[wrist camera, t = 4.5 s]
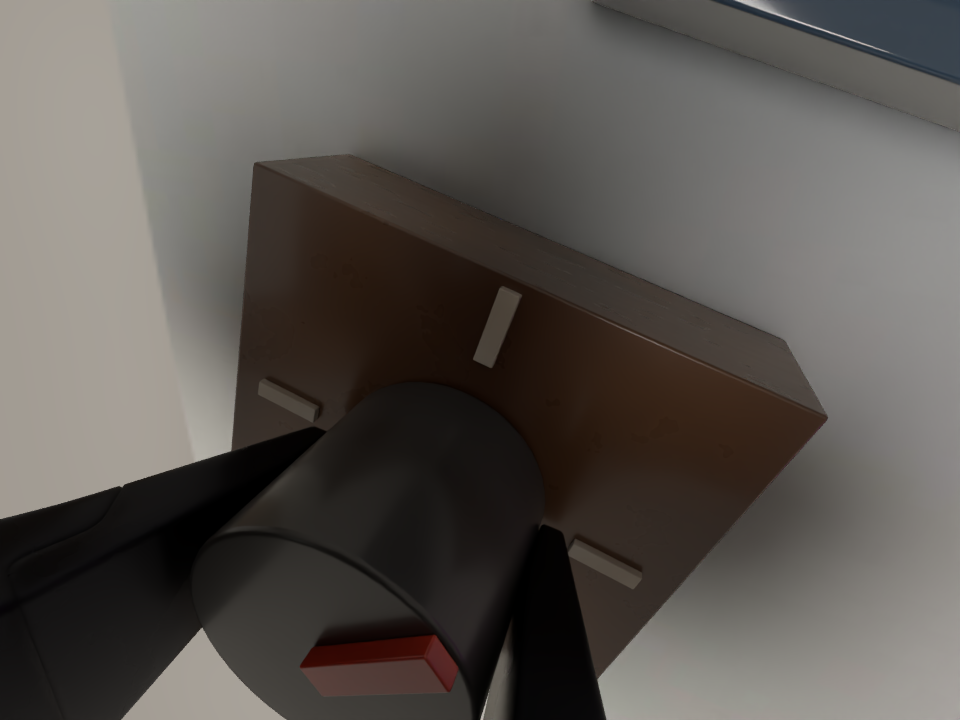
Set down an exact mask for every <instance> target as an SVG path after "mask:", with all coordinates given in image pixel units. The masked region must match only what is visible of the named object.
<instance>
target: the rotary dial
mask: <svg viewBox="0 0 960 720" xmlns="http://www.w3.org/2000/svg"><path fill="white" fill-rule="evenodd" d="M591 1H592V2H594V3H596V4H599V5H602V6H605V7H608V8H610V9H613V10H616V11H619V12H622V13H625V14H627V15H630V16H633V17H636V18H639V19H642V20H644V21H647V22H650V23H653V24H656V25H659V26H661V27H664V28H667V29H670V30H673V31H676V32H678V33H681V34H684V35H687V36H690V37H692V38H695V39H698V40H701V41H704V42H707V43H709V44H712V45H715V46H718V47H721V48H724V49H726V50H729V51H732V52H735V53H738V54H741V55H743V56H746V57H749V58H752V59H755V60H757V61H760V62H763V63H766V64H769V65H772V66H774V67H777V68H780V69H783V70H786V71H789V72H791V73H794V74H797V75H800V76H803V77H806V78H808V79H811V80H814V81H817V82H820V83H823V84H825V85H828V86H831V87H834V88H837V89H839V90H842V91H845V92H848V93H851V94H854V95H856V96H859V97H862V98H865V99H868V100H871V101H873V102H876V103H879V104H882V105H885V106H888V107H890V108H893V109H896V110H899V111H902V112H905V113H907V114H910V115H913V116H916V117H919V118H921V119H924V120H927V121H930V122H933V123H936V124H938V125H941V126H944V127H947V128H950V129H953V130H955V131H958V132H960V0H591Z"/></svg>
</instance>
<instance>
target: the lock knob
mask: <svg viewBox="0 0 960 720" xmlns="http://www.w3.org/2000/svg"><path fill="white" fill-rule="evenodd" d="M544 508H545V489H544V484H543V478H542V475H541V472H540V469H539V466H538V463H537V461H536V459H535V457H534V455H533V453H532V451H531V449H530V448H529V446H528V445H527V443H526V442H525V440H524V439H523V437H522V436H521V435H520V434H519V433H518V431H517V430H516V429H515V428H514V427H513V426H512V425H511V424H510V423H509V422H508V421H507V420H506V419H505V418H504V417H503V416H502V415H500V414H499V413H498V412H497V411H495V410H494V409H493V408H491V407H490V406H489V405H487V404H485V403H484V402H482V401H480V400H479V399H477V398H475V397H473V396H471V395H469V394H467V393H465V392H462V391H460V390H457V389H454V388H451V387H448V386H444V385H439V384H435V383H426V382H405V383H399V384H394V385H390V386H387V387H384V388H381V389H378V390H377V391H375V392H373V393H371V394H369V395H368V396H367V397H365V398H364V399H363V400H362V401H360V402H359V403H358V404H357V405H356V406H355V407H354V408H353V409H352V410H350V411H349V412H348V413H347V414H346V415H345V416H344V417H343V418H342V419H340V420H339V421H338V422H337V423H336V424H335V425H334V426H333V427H332V428H331V429H329V430H328V431H327V432H326V433H325V434H324V435H323V436H322V437H321V438H319V439H318V440H317V441H316V442H315V443H314V444H313V445H312V446H311V447H310V448H308V449H307V450H306V451H305V452H304V453H303V454H302V455H301V456H300V457H299V458H297V459H296V460H295V461H294V462H293V463H292V464H291V465H290V466H289V467H287V468H286V469H285V470H284V471H283V472H282V473H281V474H280V475H279V476H278V477H276V478H275V479H274V480H273V481H272V482H271V483H270V484H269V485H268V486H266V487H265V488H264V489H263V490H262V491H261V492H260V493H259V494H258V495H257V496H255V497H254V498H253V499H252V500H251V501H250V502H249V503H248V504H247V505H245V506H244V507H243V508H242V509H241V510H240V511H239V512H238V513H237V514H236V515H234V516H233V517H232V518H231V519H230V520H229V521H228V522H227V523H226V524H224V525H223V526H222V527H221V528H220V529H219V530H218V531H217V532H216V533H215V534H213V535H212V536H211V537H210V538H209V539H208V540H207V541H206V542H205V543H204V545H203V546H202V547H201V548H200V549H199V551H198V554H197V556H196V558H195V560H194V562H193V564H192V569H191V574H190V590H191V596H192V601H193V605H194V608H195V611H196V614H197V616H198V619H199V621H200V623H201V626H202V628H203V629H204V631H205V633H206V635H207V636H208V638H209V640H210V642H211V643H212V645H213V646H214V648H215V649H216V651H217V652H218V653H219V655H220V656H221V657H222V658H223V660H224V661H225V662H226V664H227V665H228V666H229V668H230V669H231V670H232V671H233V672H234V673H235V674H236V676H237V677H239V679H240V680H241V681H242V682H243V683H244V684H245V685H246V686H247V687H248V688H249V689H250V690H251V691H252V692H253V693H254V694H255V695H256V696H258V697H259V698H260V699H261V700H262V701H263V702H265V703H266V704H267V705H268V706H269V707H271V708H272V709H273V710H275V711H276V712H277V713H278V714H280V715H281V716H282V717H284V718H285V719H287V720H480V718H481V715H482V712H483V709H484V706H485V702H486V699H487V696H488V693H489V689H490V686H491V683H492V680H493V677H494V673H495V670H496V667H497V664H498V660H499V657H500V654H501V651H502V647H503V644H504V641H505V638H506V635H507V631H508V628H509V625H510V622H511V618H512V615H513V612H514V609H515V605H516V602H517V599H518V596H519V593H520V589H521V586H522V583H523V580H524V576H525V573H526V570H527V567H528V563H529V560H530V557H531V554H532V551H533V547H534V544H535V541H536V538H537V534H538V531H539V528H540V525H541V522H542V518H543V515H544Z"/></svg>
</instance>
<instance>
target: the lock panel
mask: <svg viewBox="0 0 960 720" xmlns="http://www.w3.org/2000/svg"><path fill="white" fill-rule="evenodd" d="M405 382H426V383H435V384H439V385H444V386H448V387H451V388H454V389H457V390H460V391H462V392H465V393H467V394H469V395H471V396H473V397H475V398H477V399H479V400H480V401H482V402H484V403H485V404H487V405H489V406H490V407H491V408H493V409H494V410H495V411H497V412H498V413H499V414H500V415H502V416H503V417H504V418H505V419H506V420H507V421H508V422H509V423H510V424H511V425H512V426H513V427H514V428H515V429H516V430H517V431H518V433H519V434H520V435H521V436H522V437H523V439H524V440H525V442H526V443H527V445H528V446H529V448H530V449H531V451H532V453H533V455H534V457H535V459H536V461H537V463H538V466H539V469H540V472H541V475H542V478H543V484H544V489H545V508H544V515H543V518H542V522H541V525H543V524H546V525H548V526H551V527H553V528H555V529H558V530H560V531H562V533H563V534H564V538H565V542H566V546H567V551H568V555H569V559H570V564H571V568H572V573H573V577H574V581H575V586H576V590H577V594H578V599H579V603H580V607H581V612H582V616H583V620H584V625H585V629H586V633H587V638H588V642H589V646H590V651H591V655H592V659H593V664H594V668H595V673H596V677H597V679H598V678H599V677H600V675H601V674H602V673H603V672H604V671H605V670H606V669H607V668H608V666H609V665H610V664H611V663H612V662H613V661H614V660H615V659H616V657H617V656H618V655H619V654H620V653H621V652H622V651H623V650H624V648H625V647H626V646H627V645H628V644H629V643H630V642H631V640H632V639H633V638H634V637H635V636H636V635H637V634H638V633H639V631H640V630H641V629H642V628H643V627H644V626H645V625H646V624H647V622H648V621H649V620H650V619H651V618H652V617H653V616H654V615H655V613H656V612H657V611H658V610H659V609H660V608H661V607H662V606H663V604H664V603H665V602H666V601H667V600H668V599H669V598H670V597H671V595H672V594H673V593H674V592H675V591H676V590H677V589H678V588H679V586H680V585H681V584H682V583H683V582H684V581H685V580H686V578H687V577H688V576H689V575H690V574H691V573H692V572H693V571H694V569H695V568H696V567H697V566H698V565H699V564H700V563H701V562H702V560H703V559H704V558H705V557H706V556H707V555H708V554H709V553H710V551H711V550H712V549H713V548H714V547H715V546H716V545H717V544H718V542H719V541H720V540H721V539H722V538H723V537H724V536H725V535H726V533H727V532H728V531H729V530H730V529H731V528H732V527H733V526H734V524H735V523H736V522H737V521H738V520H739V519H740V518H741V517H742V515H743V514H744V513H745V512H746V511H747V510H748V509H749V507H750V506H751V505H752V504H753V503H754V502H755V501H756V500H757V498H758V497H759V496H760V495H761V494H762V493H763V492H764V491H765V489H766V488H767V487H768V486H769V485H770V484H771V483H772V482H773V480H774V479H775V478H776V477H777V476H778V475H779V474H780V473H781V471H782V470H783V469H784V468H785V467H786V466H787V465H788V464H789V462H790V461H791V460H792V459H793V458H794V457H795V456H796V455H797V453H798V452H799V451H800V450H801V449H802V448H803V447H804V445H805V444H806V443H807V442H808V441H809V440H810V439H811V438H812V436H813V435H814V434H815V433H816V432H817V431H818V430H819V429H820V427H821V426H822V425H823V424H824V423H825V422H826V421H827V419H828V416H827V414H826V413H825V411H824V409H823V407H822V406H821V404H820V402H819V400H818V398H817V397H816V395H815V393H814V391H813V390H812V388H811V386H810V384H809V383H808V381H807V379H806V377H805V376H804V374H803V372H802V370H801V368H800V367H799V365H798V363H797V361H796V360H795V358H794V356H793V354H792V353H791V351H790V349H789V347H788V345H787V344H786V342H785V341H784V340H781V339H779V338H777V337H774V336H772V335H770V334H768V333H765V332H763V331H761V330H758V329H756V328H754V327H751V326H749V325H747V324H744V323H742V322H740V321H737V320H735V319H733V318H730V317H728V316H726V315H723V314H721V313H719V312H716V311H714V310H712V309H709V308H707V307H705V306H702V305H700V304H698V303H695V302H693V301H691V300H688V299H686V298H684V297H681V296H679V295H677V294H674V293H672V292H670V291H667V290H665V289H663V288H660V287H658V286H656V285H653V284H651V283H649V282H646V281H644V280H642V279H639V278H637V277H635V276H632V275H630V274H628V273H625V272H623V271H621V270H618V269H616V268H614V267H611V266H609V265H607V264H604V263H602V262H600V261H597V260H595V259H593V258H590V257H588V256H586V255H583V254H581V253H579V252H576V251H574V250H572V249H569V248H567V247H565V246H562V245H560V244H558V243H555V242H553V241H551V240H548V239H546V238H544V237H541V236H539V235H537V234H534V233H532V232H530V231H527V230H525V229H523V228H520V227H518V226H516V225H513V224H511V223H509V222H506V221H504V220H502V219H499V218H497V217H495V216H492V215H490V214H488V213H485V212H483V211H481V210H478V209H476V208H474V207H471V206H469V205H467V204H464V203H462V202H460V201H457V200H455V199H453V198H451V197H448V196H446V195H444V194H441V193H439V192H437V191H434V190H432V189H430V188H427V187H425V186H423V185H420V184H418V183H416V182H413V181H411V180H409V179H406V178H404V177H402V176H399V175H397V174H395V173H392V172H390V171H388V170H385V169H383V168H381V167H378V166H376V165H374V164H371V163H369V162H367V161H364V160H362V159H360V158H357V157H355V156H353V155H350V154H345V155H333V156H322V157H310V158H299V159H287V160H276V161H264V162H255V163H254V167H253V180H252V193H251V206H250V219H249V232H248V244H247V257H246V270H245V283H244V296H243V309H242V322H241V334H240V347H239V360H238V373H237V386H236V399H235V412H234V424H233V437H232V450H231V451H233V450H237V449H240V448H243V447H246V446H249V445H253V444H256V443H259V442H262V441H265V440H269V439H272V438H275V437H278V436H282V435H285V434H288V433H291V432H294V431H298V430H301V429H304V428H307V427H311V426H315V427H318V428H321V429H323V430H325V431H328V430H329V429H331V428H332V427H333V426H334V425H335V424H336V423H337V422H338V421H339V420H340V419H342V418H343V417H344V416H345V415H346V414H347V413H348V412H349V411H350V410H352V409H353V408H354V407H355V406H356V405H357V404H358V403H359V402H360V401H362V400H363V399H364V398H365V397H367V396H368V395H369V394H371V393H373V392H375V391H377V390H378V389H381V388H384V387H387V386H390V385H394V384H399V383H405ZM541 525H540V527H541ZM539 529H540V528H539Z"/></svg>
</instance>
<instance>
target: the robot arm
mask: <svg viewBox="0 0 960 720" xmlns="http://www.w3.org/2000/svg"><path fill="white" fill-rule="evenodd" d="M326 432H327V431H325V430H323V429H321V428H318V427H315V426H311V427H307V428H304V429H301V430H298V431H294V432H291V433H288V434H285V435H282V436H278V437H275V438H272V439H269V440H265V441H262V442H259V443H256V444H253V445H249V446H246V447H243V448H240V449H237V450H233V451H230V452H227V453H224V454H221V455H217V456H214V457H211V458H208V459H205V460H201V461H198V462H195V463H192V464H189V465H185V466H183V467H179V468H176V469H173V470H169V471H166V472H163V473H160V474H157V475H154V476H151V477H147V478H144V479H141V480H137V481H134V482H131V483H128V484H125V485H124V486H123V487H120V486H118V487H114V488H111V489H108V490H105V491H102V492H98V493H95V494H92V495H88V496H85V497H82V498H79V499H75V500H72V501H68V502H65V503H61V504H58V505H54V506H50V507H47V508H42V509H39V510H35V511H31V512H27V513H23V514H19V515H16V516H12V517H7V518H3V519H0V720H121V719H122V718H123V717H124V715H126V713H127V712H128V711H129V710H130V709H131V708H132V707H133V705H134V704H135V703H136V702H137V701H138V700H139V699H140V697H141V696H142V695H143V694H144V693H145V692H146V690H147V689H148V688H149V687H150V686H151V685H152V684H153V683H154V681H155V680H156V679H157V678H158V677H159V676H160V675H161V674H162V672H163V671H164V670H165V669H166V668H167V667H168V665H169V664H170V663H171V662H172V661H173V660H174V659H175V657H176V656H177V655H178V654H179V653H180V652H181V651H182V650H183V648H184V647H185V646H186V645H187V644H188V643H189V641H190V640H191V639H192V638H193V637H194V636H195V635H196V634H197V632H198V631H199V630H200V629H201V628H202V626H201V623H200V621H199V619H198V616H197V614H196V611H195V608H194V605H193V601H192V596H191V590H190V574H191V569H192V564H193V562H194V560H195V558H196V556H197V554H198V551H199V549H200V548H201V547H202V546H203V545H204V543H205V542H206V541H207V540H208V539H209V538H210V537H211V536H212V535H213V534H215V533H216V532H217V531H218V530H219V529H220V528H221V527H222V526H223V525H224V524H226V523H227V522H228V521H229V520H230V519H231V518H232V517H233V516H234V515H236V514H237V513H238V512H239V511H240V510H241V509H242V508H243V507H244V506H245V505H247V504H248V503H249V502H250V501H251V500H252V499H253V498H254V497H255V496H257V495H258V494H259V493H260V492H261V491H262V490H263V489H264V488H265V487H266V486H268V485H269V484H270V483H271V482H272V481H273V480H274V479H275V478H276V477H278V476H279V475H280V474H281V473H282V472H283V471H284V470H285V469H286V468H287V467H289V466H290V465H291V464H292V463H293V462H294V461H295V460H296V459H297V458H299V457H300V456H301V455H302V454H303V453H304V452H305V451H306V450H307V449H308V448H310V447H311V446H312V445H313V444H314V443H315V442H316V441H317V440H318V439H319V438H321V437H322V436H323V435H324V434H325V433H326ZM483 720H606V716H605V712H604V707H603V703H602V699H601V694H600V690H599V686H598V681H597V677H596V673H595V668H594V664H593V659H592V655H591V651H590V646H589V642H588V638H587V633H586V629H585V625H584V620H583V616H582V612H581V607H580V603H579V599H578V594H577V590H576V586H575V581H574V577H573V573H572V568H571V564H570V559H569V555H568V551H567V546H566V542H565V538H564V534H563V533H562V531H560V530H558V529H555V528H553V527H551V526H548V525H546V524H543V525H541V527H540V529H539V531H538V534H537V538H536V541H535V544H534V547H533V551H532V554H531V557H530V560H529V563H528V567H527V570H526V573H525V576H524V580H523V583H522V586H521V589H520V593H519V596H518V599H517V602H516V605H515V609H514V612H513V615H512V618H511V622H510V625H509V628H508V631H507V635H506V638H505V641H504V644H503V647H502V651H501V654H500V657H499V660H498V664H497V667H496V670H495V673H494V677H493V680H492V683H491V686H490V690H489V695H488V700H487V704H486V709H485V714H484V719H483Z"/></svg>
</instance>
